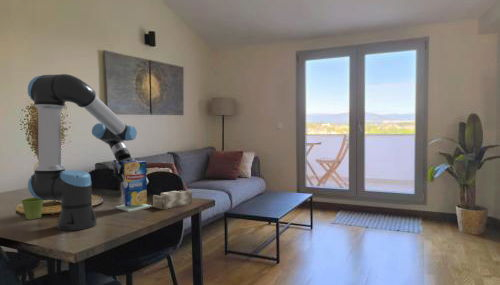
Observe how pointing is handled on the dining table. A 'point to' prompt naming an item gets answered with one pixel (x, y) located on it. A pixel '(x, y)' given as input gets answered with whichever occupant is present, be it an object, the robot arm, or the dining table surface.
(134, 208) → the mat
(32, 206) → the plant pot
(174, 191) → the offcut stack
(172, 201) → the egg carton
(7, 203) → the dining table surface
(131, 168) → the blue food box
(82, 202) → the robot arm
